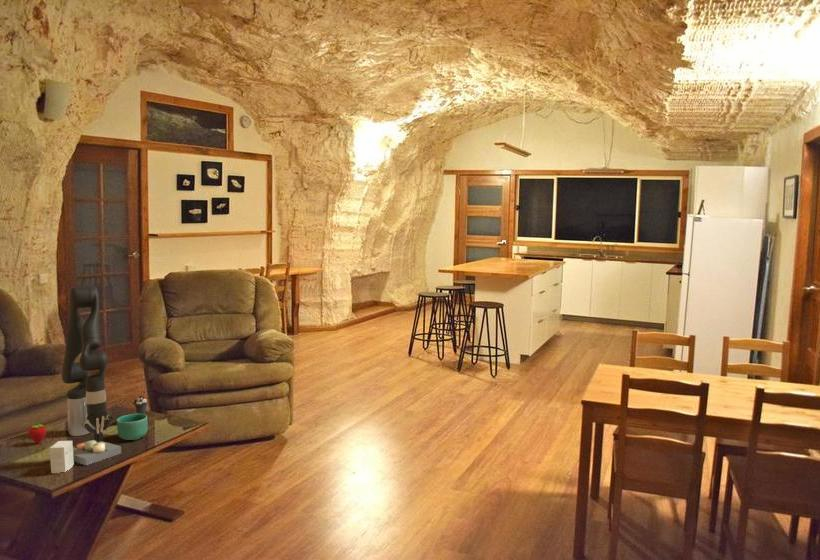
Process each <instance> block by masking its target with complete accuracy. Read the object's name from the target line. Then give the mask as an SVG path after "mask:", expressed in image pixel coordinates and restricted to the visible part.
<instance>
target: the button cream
mask: <svg viewBox="0 0 820 560" xmlns="http://www.w3.org/2000/svg"><path fill="white" fill-rule="evenodd" d="M102 452H105V443H95V444H93V453H95V454H99V453H102Z"/></svg>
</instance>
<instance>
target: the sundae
mask: <svg viewBox="0 0 820 560" xmlns="http://www.w3.org/2000/svg"><path fill="white" fill-rule="evenodd" d="M145 393H146V391H143V393H142V394H140V395H139V396H137V398H136V399H135V398H133V401H134V402H133V403H132V405H134V407H135V410H136V414H145V415H146V411H147V405H148V403H149V400H147V399H146V396H145Z"/></svg>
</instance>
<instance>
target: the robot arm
mask: <svg viewBox="0 0 820 560" xmlns="http://www.w3.org/2000/svg"><path fill="white" fill-rule="evenodd" d="M69 291H70V292H69V298H68V299H69V300H68V301H69V304H68V306H69V307H68V308H69V309H68V320H67V321H68V323H67V329H66V335H65V336H66V337H65V351H64V352H65V353H64V357H63V361H62V362H63V363H62V367H61V380H62V382H63V383H65V384H66V385H67V384H68V385H69V384H76V383H78V384H76V385H75V386H74V387H73V388H71V389H69V390H68V391H67V393H66V399H67V400H66V401H67V416H66V417H67V418H66V419H67V430H68V434H69V436H73V437H77V436H79V437H80V436H84V435H88V434H93V437H94V439H93V440H95V441H96V442H101V441H103V439H104V435H103V434H104V433H103V432H104V431H106V430H107V429H108V427H109V426H110V423H111V422H112V421H113V416H112V415H110V414H108V412H107V410H108V405H107V404H108V403H107V392H106V386H105V385H106V383H105V376H106V371H107V367H108V362H109V357H108V354H107V353H106V352H104V351H99V352H98V351H97V352H94V351H96V350H99V349H100V348H101V346H102V341H101V334H100V333H101V332H100V295H99V289H98V287H96V286H93V285H91V286H90V285H87V286H81V285H80V286H79V285H77V286H72V287H71V288H70V290H69ZM82 308H83V309H84V308H85V309H87V308H90V314H89V315H88V318H87V319H86V320H84V318H83V317H82V316H81V314H80V312H79V310H78V309H82ZM79 356H80V357H79ZM78 357H79V361H77V362H76V359H77V358H78ZM90 371H97V372H96V373H94V374H91V375H90Z"/></svg>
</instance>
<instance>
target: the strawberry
mask: <svg viewBox="0 0 820 560" xmlns="http://www.w3.org/2000/svg"><path fill="white" fill-rule="evenodd" d="M30 427H31V428H29V429H28V430H27V431H28V432H27V434H28V436H29V438H30V440H32V441H33V442H34V443H35V444H36V445H37V444H38V445H39V444H41V443H42V441H43V440H44V439H45V437H46V436H47V432H48V430H47V428H46V427H45V425H43V424H42V423H39V424H37V425H32V426H30Z"/></svg>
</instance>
